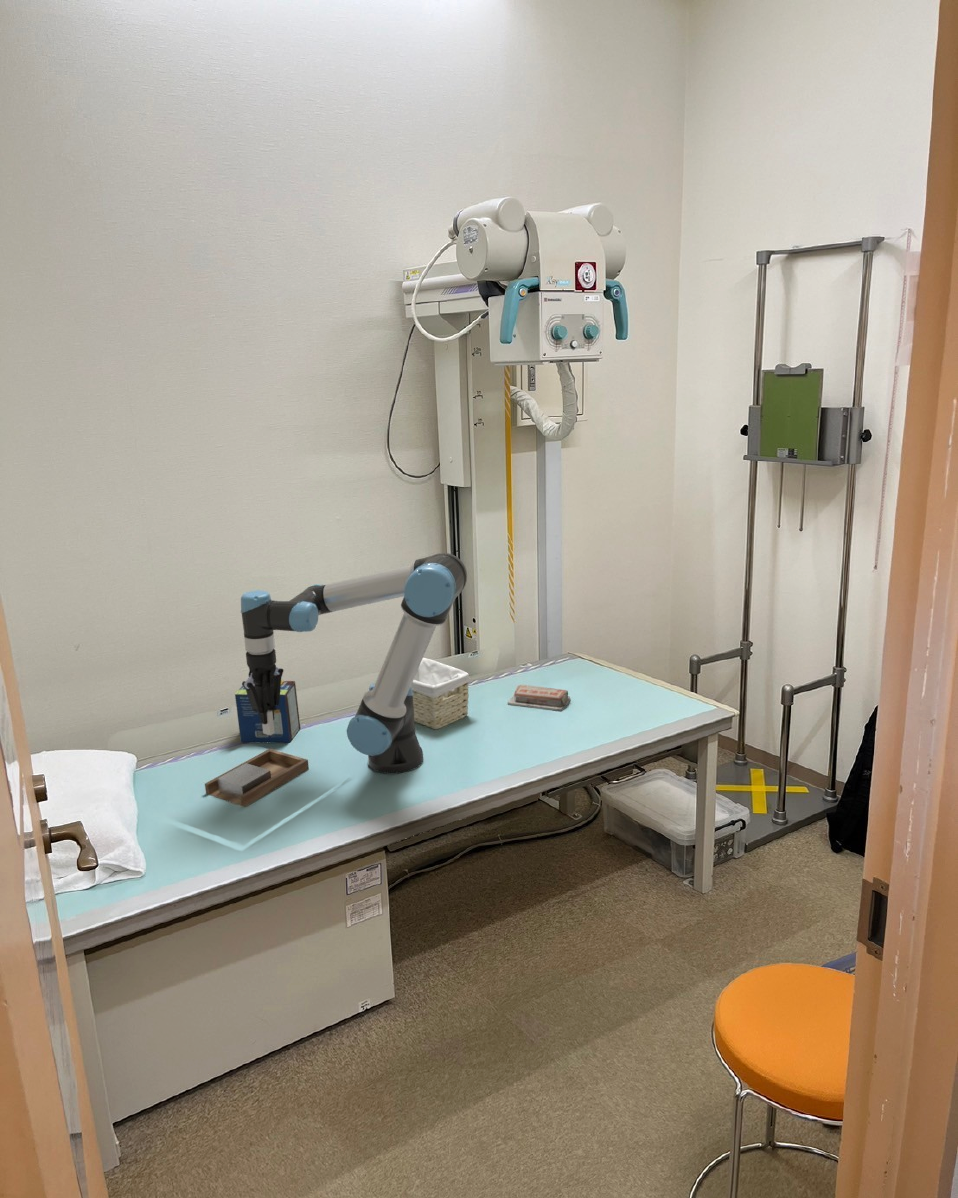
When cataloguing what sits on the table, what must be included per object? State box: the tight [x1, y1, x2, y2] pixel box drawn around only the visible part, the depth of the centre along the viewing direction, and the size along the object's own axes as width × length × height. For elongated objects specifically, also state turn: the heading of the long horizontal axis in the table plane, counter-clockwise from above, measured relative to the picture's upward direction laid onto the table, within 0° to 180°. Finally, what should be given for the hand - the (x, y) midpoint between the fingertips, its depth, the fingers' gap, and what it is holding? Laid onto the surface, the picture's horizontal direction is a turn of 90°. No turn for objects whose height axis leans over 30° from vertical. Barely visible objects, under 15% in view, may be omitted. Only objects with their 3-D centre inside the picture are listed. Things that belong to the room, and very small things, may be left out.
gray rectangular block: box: [217, 763, 271, 800], centre depth 239 cm, size 9×10×4 cm
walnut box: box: [204, 748, 309, 808], centre depth 243 cm, size 14×23×4 cm, turn 147°
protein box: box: [234, 680, 301, 744], centre depth 271 cm, size 10×15×16 cm
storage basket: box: [411, 657, 471, 730], centre depth 282 cm, size 24×16×15 cm
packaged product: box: [507, 684, 571, 712], centre depth 289 cm, size 18×5×10 cm
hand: (268, 733), depth 245 cm, fingers closed
